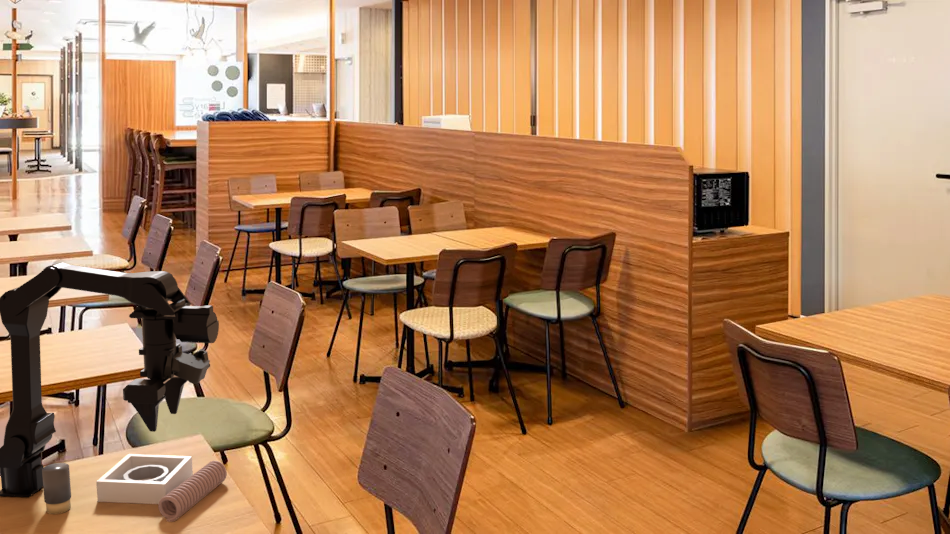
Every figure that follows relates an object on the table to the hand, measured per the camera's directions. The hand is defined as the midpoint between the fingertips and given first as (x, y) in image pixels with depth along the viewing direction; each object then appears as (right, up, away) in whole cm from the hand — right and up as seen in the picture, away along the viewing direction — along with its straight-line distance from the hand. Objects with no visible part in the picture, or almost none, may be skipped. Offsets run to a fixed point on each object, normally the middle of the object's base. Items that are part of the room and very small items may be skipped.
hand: (163, 422), depth 158 cm
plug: (-18, -15, -3) cm, 24 cm away
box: (-5, -14, +6) cm, 16 cm away
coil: (+5, -15, +1) cm, 16 cm away
